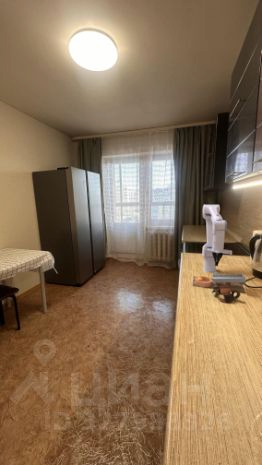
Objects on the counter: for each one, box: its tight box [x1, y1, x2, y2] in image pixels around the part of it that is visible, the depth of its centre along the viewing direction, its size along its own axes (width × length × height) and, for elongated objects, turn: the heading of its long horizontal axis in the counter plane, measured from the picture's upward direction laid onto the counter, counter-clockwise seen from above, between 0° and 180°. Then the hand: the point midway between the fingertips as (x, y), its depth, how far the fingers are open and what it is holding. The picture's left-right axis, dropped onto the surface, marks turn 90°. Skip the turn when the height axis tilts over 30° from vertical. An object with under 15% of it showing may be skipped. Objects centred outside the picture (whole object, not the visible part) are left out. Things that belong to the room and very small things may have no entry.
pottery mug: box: [211, 286, 241, 304], centre depth 95 cm, size 12×10×8 cm
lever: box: [212, 271, 246, 286], centre depth 109 cm, size 13×15×4 cm
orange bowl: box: [195, 275, 213, 288], centre depth 110 cm, size 9×9×3 cm
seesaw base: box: [192, 275, 247, 294], centre depth 110 cm, size 14×26×4 cm, turn 70°
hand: (216, 265), depth 113 cm, fingers closed
